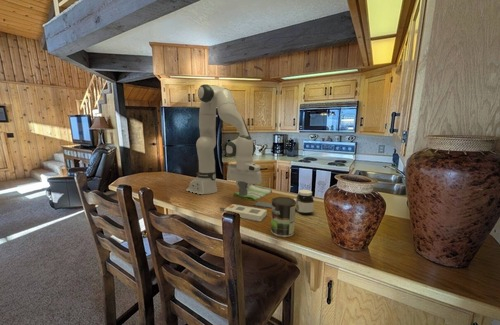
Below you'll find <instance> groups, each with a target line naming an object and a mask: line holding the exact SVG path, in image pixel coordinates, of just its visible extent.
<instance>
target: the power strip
mask: <svg viewBox="0 0 500 325" xmlns="http://www.w3.org/2000/svg"><path fill="white" fill-rule="evenodd" d="M219 209H220V210H221V211H222V210H223V213H224V212H226V211H232V212H236V213H239V214H240V217H241V218H240V219H242V220H247V221H253V222H258V223H261V222H262V221H263V220H264V219H265V218H266V217H267V215H268V210H267V209H266V208H265V209H264V208H260V207H254V206H246V205H241V204H234V203H232V204H230V205H229V206H227V207H226V208H225V207H220V208H219Z"/></svg>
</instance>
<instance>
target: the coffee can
mask: <svg viewBox="0 0 500 325" xmlns="http://www.w3.org/2000/svg"><path fill="white" fill-rule="evenodd" d="M271 203H272V209H271V220H270V221H271V222H270V223H271V224H270V225H271V226H270V232H271V234H273V235H274V236H275V237H281V238H289V237H292V236H293V235H294V234H295V222H296V221H295V220H296V201H295V200H294V198H291V197H286V196H278V197H274V198H272V199H271Z"/></svg>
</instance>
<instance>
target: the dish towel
mask: <svg viewBox="0 0 500 325" xmlns="http://www.w3.org/2000/svg"><path fill="white" fill-rule="evenodd" d="M272 192H273V190H272V189H271V188H269V187H264V186H259V185H257V184H251V186H250V187H249V191H247V195H245V196H242V195H239V191H237V192H234V194H233V196H234V197H237V198H242V199H245V200H249V201H255V202H256V201H257V200H260V199H261V198H263V197H266V196H268V195H269V194H271V193H272Z"/></svg>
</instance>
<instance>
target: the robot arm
mask: <svg viewBox="0 0 500 325" xmlns="http://www.w3.org/2000/svg"><path fill="white" fill-rule="evenodd" d="M197 96H198V99H199V101H200V104H199V110H198V111H199V113H198V115H199V117H198V127H199V137H198V139H197V140H196V144H195V146H196V152H197V159H198V172H196V177H194V179H192V180H191V181H189V185H188V187H187V188H186V189H185V192H188V191H190V192H189V193H192V192H193V193H192V194H195V193H197V194H196V195H199V194H201V195H208V194H214V193H217V192H218V187H217V181H216V178H217V175H216V174H217V173H216V172H217V171H216V159H215V151H214V150H215V148H216V145H217V137H216V136H217V132H216V130H217V129H216V127H217V126H216V125H217V124H216V123H217V122H216V121H217V114H218V116H219V118H220V120H221V121H223V122H224V123H226V124H229V125H231V126H233V127H234V128H236V130H237V132H238V133H239V135H238V136H237V138H236V139H233V140H230V141H228V142H227V143H226V145H225V153H226V155H227V156H228V157H230V158H236V161H235V162H236V163H229V164H228V165H227V172H226V179H227V180H228V181H233V182H235V183H236V186H237V189H238V190H239V181H242V182H245V183H248V187H246V190H247V191H249V187H251V186H252V185H256V186H259V185H260V184H261V183H262V181H263V178H262V171H261V168H262V167H261V165H259V164H257V163H255V162H253V160H254V159H253V156H254V154H255V152H256V145H255V143H254V141H253V138H252V137H251V135H250V132H249V130H248V127H247V124H246V122H245V120H244V117H243V116H242V115H241V113H240V112H239V110H238V109H237V107H236V101H235V98H234V97H233V93H232V92H231V90H230V89H228V88H227V87H222V86H218V85H209V84H201V85H200V86H199V88H198V91H197Z"/></svg>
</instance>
